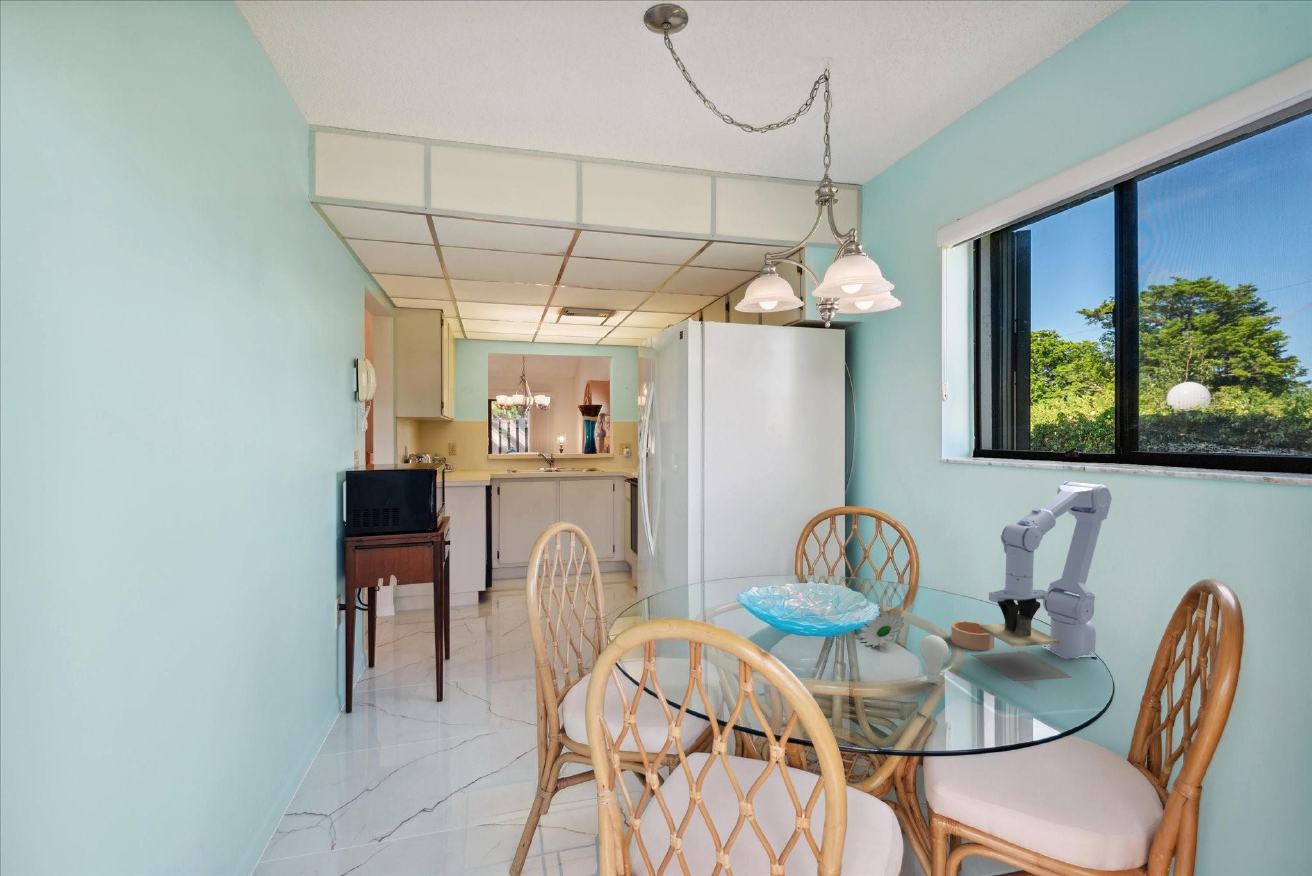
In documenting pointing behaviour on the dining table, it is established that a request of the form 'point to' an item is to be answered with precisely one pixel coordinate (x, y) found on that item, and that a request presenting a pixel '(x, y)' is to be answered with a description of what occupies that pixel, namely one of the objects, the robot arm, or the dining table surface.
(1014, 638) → the lid
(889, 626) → the flower
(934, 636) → the lightbulb
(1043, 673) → the mat
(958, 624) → the bowl
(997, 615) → the dining table surface
